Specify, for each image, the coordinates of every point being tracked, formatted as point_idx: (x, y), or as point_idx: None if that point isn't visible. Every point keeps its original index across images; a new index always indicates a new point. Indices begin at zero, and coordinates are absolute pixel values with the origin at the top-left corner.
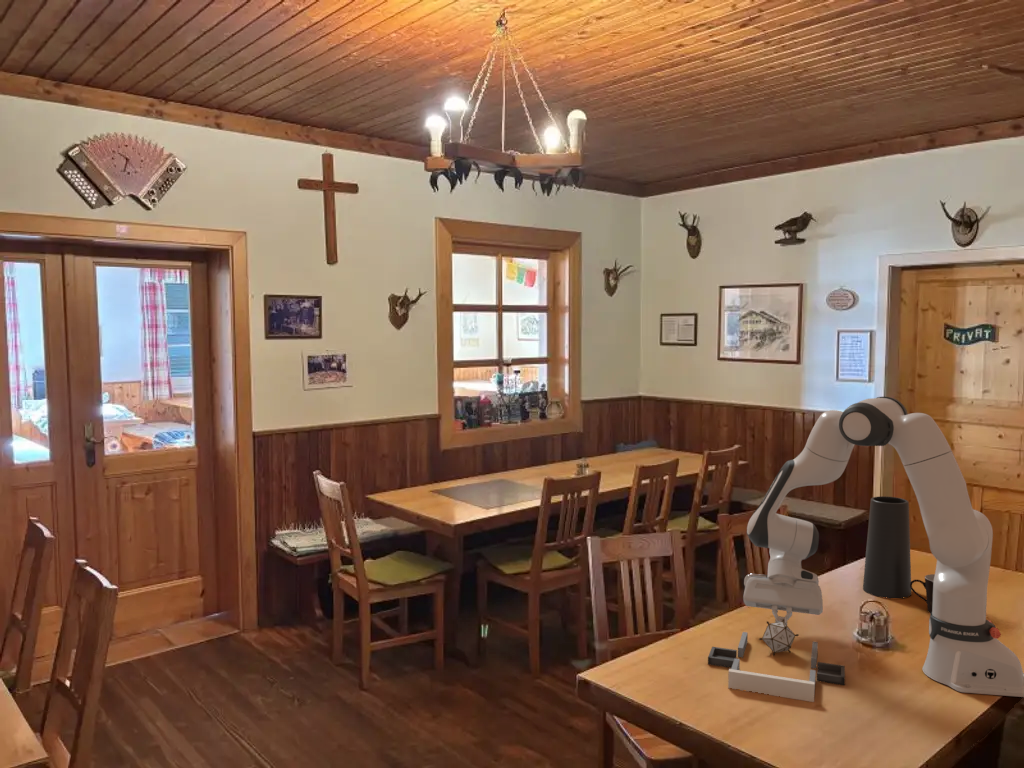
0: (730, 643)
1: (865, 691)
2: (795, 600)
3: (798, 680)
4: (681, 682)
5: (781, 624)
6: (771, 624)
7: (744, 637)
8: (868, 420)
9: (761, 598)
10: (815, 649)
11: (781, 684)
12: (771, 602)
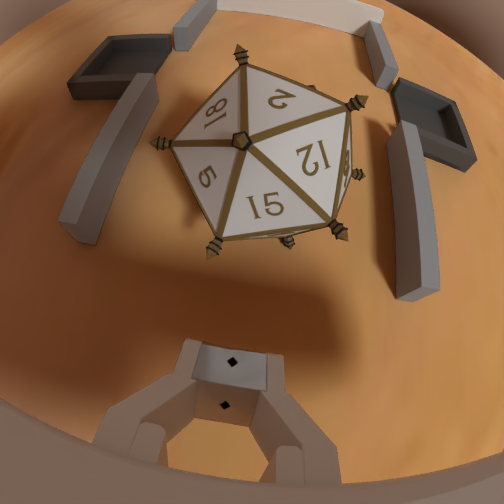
0: (447, 265)
1: (82, 47)
2: (9, 483)
3: None
4: (445, 64)
5: (262, 98)
6: (330, 96)
7: (423, 217)
8: None
9: (477, 497)
10: (102, 137)
11: None
12: (367, 492)
